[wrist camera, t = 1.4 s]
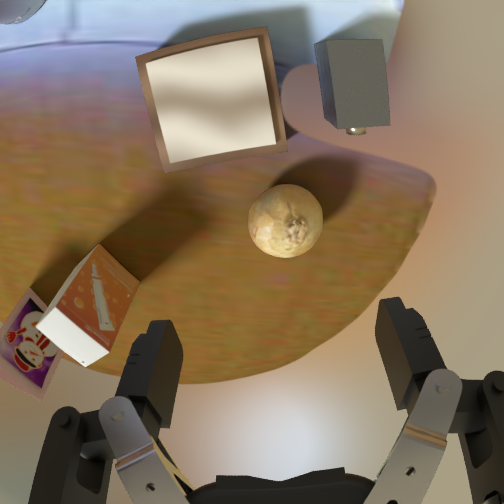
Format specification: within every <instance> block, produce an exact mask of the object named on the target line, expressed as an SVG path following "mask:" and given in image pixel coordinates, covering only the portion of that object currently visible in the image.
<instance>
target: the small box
mask: <svg viewBox="0 0 504 504" xmlns="http://www.w3.org/2000/svg"><path fill="white" fill-rule="evenodd" d="M139 284H140V281H138V280H137V279H136V278H135V277H134V276H133V275H131V274H130V273H129V272H128V271H127V270H126V269H125V268H124V267H123V266H122V265H121V264H120V263H119V262H118V261H117V260H116V259H115V258H113V257H112V256H111V255H110V254H109V253H108V252H107V251H106V250H105V249H104V248H103V246H102V245H101V244H98V245H97V246H96V247H95V248H94V249H93V250H92V251H91V252H90V253H89V254H88V255H87V256H86V257H85V258H84V259H83V260H82V261H81V262H80V263H79V264H78V265H77V266H76V267H75V269H74V270H73V271H72V273H71V274H70V275H69V277H68V278H67V280H66V281H65V282H64V284H63V285H62V287H61V288H60V290H59V291H58V293H57V294H56V296H55V297H54V299H53V300H52V302H51V303H50V305H49V306H48V308H47V309H46V311H45V312H44V314H43V316H42V317H41V319H40V320H39V322H38V323H37V325H36V328H37V329H38V330H40V331H41V332H42V333H43V334H44V335H45V336H46V337H48V338H49V339H50V340H51V341H52V342H53V343H54V344H56V345H57V346H58V347H59V348H60V349H61V350H63V351H64V352H66V353H67V354H68V355H70V356H71V357H72V358H74V359H75V360H76V361H78V362H79V363H80V364H82V365H83V366H84V367H87V366H88V365H90V364H91V363H93V362H95V361H96V360H98V359H100V358H101V357H103V356H105V355H106V354H108V353H109V352H110V351H111V348H112V346H113V343H114V341H115V339H116V336H117V334H118V332H119V329H120V327H121V325H122V322H123V320H124V318H125V315H126V313H127V311H128V309H129V307H130V304H131V302H132V300H133V298H134V295H135V293H136V291H137V289H138V287H139Z"/></svg>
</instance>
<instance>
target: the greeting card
mask: <svg viewBox="0 0 504 504" xmlns="http://www.w3.org/2000/svg"><path fill="white" fill-rule="evenodd" d="M47 308H48V307H47V306H46V304H45V303H44V302H43V301H42V300H41V299H40V298H39V297H38V296H37V295H36V294H35V292H34V291H33V290H32V289H31V288H30V287H29V289H28V290H27V291H26V293H25V294H24V295H23V297H22V298H21V300H20V301H19V302H18V304H17V305H16V307H15V308H14V309H13V311H12V312H11V314H10V315H9V317H8V318H7V320H6V321H5V323H4V324H3V326H2V327H1V329H0V379H2V380H4V381H6V382H7V383H9V384H11V385H12V386H14V387H16V388H18V389H20V390H22V391H24V392H25V393H27V394H29V395H31V396H33V397H35V398H37V399H39V400H41V401H42V399H43V397H44V395H45V393H46V390H47V388H48V386H49V384H50V381H51V379H52V377H53V375H54V373H55V370H56V368H57V366H58V364H59V362H60V360H61V358H62V356H63V354H64V351H63V350H61V349H60V348H59V347H58V346H57V345H56V344H54V343H53V342H52V341H51V340H50V339H49V338H48V337H46V336H45V335H44V334H43V333H42V332H41V331H40V330H38V329H37V328H36V325H37V323H38V322H39V320H40V319H41V317H42V316H43V314H44V312H45V311H46V309H47Z"/></svg>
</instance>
